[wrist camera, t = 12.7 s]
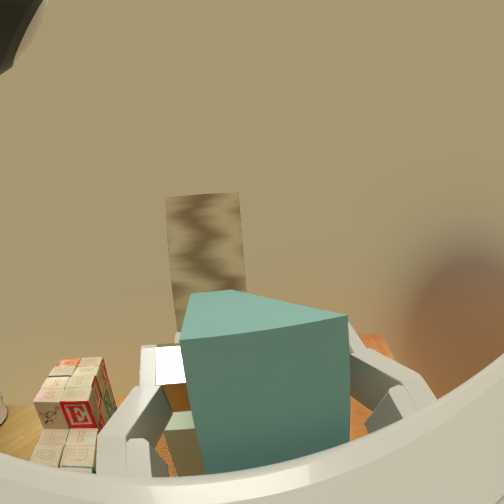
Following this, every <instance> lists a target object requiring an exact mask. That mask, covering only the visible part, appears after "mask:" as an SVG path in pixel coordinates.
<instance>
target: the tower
mask: <svg viewBox="0 0 504 504" xmlns="http://www.w3.org/2000/svg"><path fill="white" fill-rule="evenodd" d="M165 207H166V223H167V224H166V225H167V239H168V252H169V262H170V272H171V283H172V291H173V300H174V308H175V315H176V323H177V330H178V332H181V330H182V326H183V322H184V318H185V314H186V310H187V306H188V302H189V299H190V295H191V293H201V292H212V291H221V290H235V291H240V292H244V293H247V290H246V278H245V267H244V254H243V242H242V229H241V217H240V204H239V193H238V192H235V193H217V194H202V195H188V196H176V197H165Z"/></svg>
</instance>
